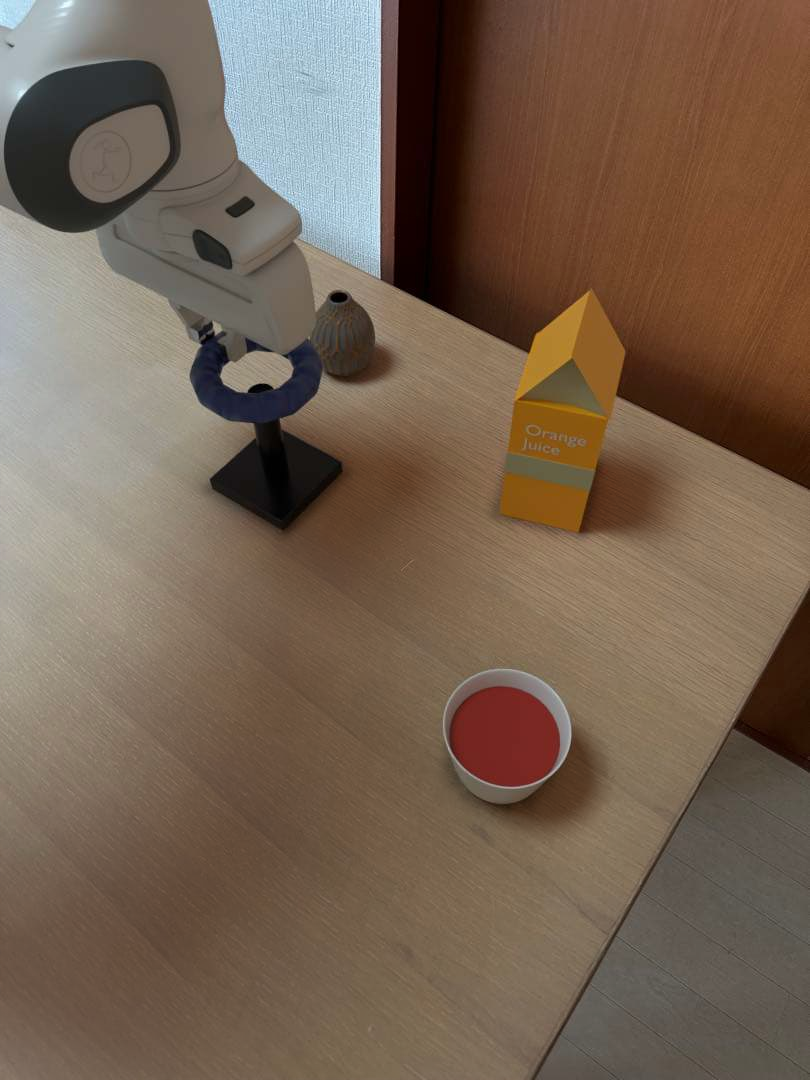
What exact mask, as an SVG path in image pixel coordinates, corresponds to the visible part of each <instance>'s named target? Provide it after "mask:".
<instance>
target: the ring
mask: <svg viewBox="0 0 810 1080" xmlns="http://www.w3.org/2000/svg"><path fill="white" fill-rule="evenodd" d="M227 333H228V332H227ZM227 333H226V332H224V331H223V330H222V329H221V331H219V332H218V333H216V334H215V336H214V337H213V338H211V339H210V340H209V341H207V342H206V343H205V344H204V345H200V347H199V348H198V349H197V351H196V354H195V356H194V359H193V362H192V365H191V368H190V370H189V375H188V376H189V377H188V378H189V381H190V384H191V387H192V388H193V391H194V393H195V396H196V398H197V400H198V402H199V403H200V404H201V406H202V407H204V408H206V409H207V410H209V411H210V412H212V413H214V414H215V415H217V416H219V417H221V418H222V419H223V420H225V421H228V422H236V423H247V424H253V423H255V424H264V423H267V422H271V421H274V420H277V419H280V420H281V419H284V418H287V417H290V416H293V415H295V414H297V412H298V411H300V410H301V409H302V408H303V407H304V406H305V405H306V404H307V403H309V402H310V401H311V400H312V399H314V397H315V396H316V395H317V394H318V391H319V388H320V384H321V380H322V376H323V371H324V368H323V363H322V360H321V358H320V357H319V355H318V353H317V351H316V349H315V348H314V346H313V344H312V342H311V341H310V338H309V337H308V338H307V339H306V340H305V341H304V342H303V343H301V344H300V345H299V346H298V347H296V348H295V349H294V350H292V351H291V352H289V353H288V354H286V355H280V354H278V355H279V356H281V357H282V358H285V359H286V360H288V361H289V363H290V364H291V366H292V372H291V376H290V377H289V378H288V379H287V380H286V381H285V382H284V383H283V384H281V385H280V386H279V387H276V388H274V389H273V390H269V391H266V392H262V393H259V394H256V393H247V392H243V391H236V390H235V389H233V388H231V387H229V386H228V385H226V384H224V382H223V380H222V379H223V378H222V377H221V375H222V372H223V368H224V367H225V366H226V365H227V364H229V363H230V362H232V361H231V360H229V359H227V358H225V357H223V356H221V355H220V349H219V347H218V343H217V341H218V340H219V339H221V338H222V337H224V336H226V334H227ZM245 341H246V346H247V352H246V354H245V355H248V354H250V353H254V352H261V353H272V354H275V352H274V351H272V350H270V349H268V348H266V347H264V346H262V345H260V344H258V343H256V342H254V341H252V340H250V339H248V338H246V337H245Z"/></svg>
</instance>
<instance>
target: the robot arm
mask: <svg viewBox="0 0 810 1080" xmlns="http://www.w3.org/2000/svg"><path fill="white" fill-rule="evenodd" d="M215 25H216V24H215V21H214V18H213V13H212V9H211V6H210V3H209V0H35V1H34V3H33V4H32V6H31V8H30V9H29V10H28V12H27V13H26V15H25V16H24V17H23V19H22V20H20V22H18V24H17V25H16V26H15V27H14V28H9V27H8V26H5V25H3V24H0V206H2V207H3V208H6V209H7V210H9V211H11V212H13V213H15V214H17V215H20V216H21V217H24V218H26V219H28V220H30V221H32V222H34V223H37V224H39V225H41V226H44V227H45V228H48V229H50V230H54V231H57V232H61V233H68V234H81V233H86V232H90V231H94V230H95V235H96V239H97V242H98V246H99V251H100V253H101V255H102V258H103V260H104V261H105V262H106V264H107V265H108V266H109V268H110V269H111V270H112V272H114V273H115V274H117V275H119V276H121V277H123V278H126V279H127V280H129V281H132V282H133V283H135V284H137V285H139V286H141V287H144V288H145V289H148V290H149V291H152V293H153V292H154V293H155V294H157V295H159V296H162V297H164V298H166V299H167V301H168V304H169V306H170V308H171V309H172V310H173V312H174V313H175V314H176V317H178V318H179V320H180V321H181V322H182V324H183V325H184V327H185V331H186V334H187V338H188V339H189V340H190V341H192V342H194V343H196V344H198V345H200V346H202V345H204V344H205V343H206V342H207V341H209V340H210V339H211V338H213V337H214V336H215V335H216V330H215V329H214V323H216V324H217V325H219V326H220V327H221V331H222V330H223V331H224V332H226V333H227V332H228V333H227V334H226V336H224V337H222V338H221V339H219V340H218V341H217V343H218V347H219V349H220V355H221V356H223V357H225V358H227V359H229V360H231V361H230V362H233V363H238V362H239V361H240V360H241V359H243V358H244V357H245V356H246V355H247V354H246V352H247V346H246V341H245V337H246V338H248V339H250V340H252V341H254V342H256V343H258V344H260V345H262V346H264V347H266V348H268V349H270V350H272V351H274V352H275V353H276V354H277V355H279V354H280V355H279V356H281V355H286V354H288V353H289V352H291V351H292V350H294V349H295V348H296V347H298V346H299V345H300V344H301V343H303V342H304V341H305V340H306V339H307V338H308V339H309V338H310V335H311V334H312V332H313V331H314V329H315V326H316V312H317V311H316V303H315V296H314V290H313V284H312V283H313V282H312V278H311V273H310V267H309V265H308V261H307V259H306V257H305V255H304V253H303V251H302V250H301V248H300V247H299V245H298V244H297V243H296V242H295V240H296V239H297V238H298V237H299V236H300V235H301V234H302V231H303V221H302V217H301V213H300V212H299V210H298V209H297V208H296V207H295V206H294V205H293V204H291V203H290V202H289V200H286V198H284V197H282V195H280V194H279V193H277V191H275V190H274V189H273V188H271V187H270V186H269V185H268V184H266V183H265V182H264V181H263V180H262V178H260V177H259V176H258V175H257V174H256V173H255V172H254V171H253V170H252V168H251V167H250V166H249V165H248V164H247V163H246V162H244V161H243V160H241V159H240V158H239V152H238V146H237V142H236V138H235V136H234V133H233V132H232V130H231V128H230V126H229V124H228V121H227V118H226V113H225V110H226V109H225V101H226V91H227V89H226V88H227V87H226V86H227V85H226V77H225V72H224V66H223V59H222V54H221V49H220V45H219V44H220V43H219V40H218V35H217V30H216V26H215ZM275 353H274V354H275Z"/></svg>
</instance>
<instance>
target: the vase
mask: <svg viewBox="0 0 810 1080" xmlns="http://www.w3.org/2000/svg"><path fill="white" fill-rule="evenodd" d="M352 296H353V295H352V294H350V292H349V291H347V290H344V289H334V290H332V291H331V292H329V293H328V294H327V296H326V298H325V300H324V302H323V303H322V304H321V305H320V307H319V308H318V309H317V310H316V311H315V312H316V326H315V329H314V331H313V332H312V334H311V335H310V336H309V340H310V341H311V342H312V344H313V346H314V348H315V349H316V351H317V353H318V355H319V357H320V358H321V360H322V363H323V370H325V371H326V372H328V373H330V374H333V375H336V376H340V377H346V376H352V375H355V374H357V373H359V372H360V371H362V370H363V369H365V367H366V366H368V364H369V363H370V361H371V360H372V358H373V355H374V352H375V346H376V331H375V325H374V323H373V320H372V318H371V316H370V314H369V313H368V311H367V310H366V309H365V308H364V306H362V305H361V304H359V303H358V302H357V301H356V300H355V299H354V298H353V297H352Z"/></svg>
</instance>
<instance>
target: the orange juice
mask: <svg viewBox="0 0 810 1080" xmlns="http://www.w3.org/2000/svg"><path fill="white" fill-rule="evenodd" d="M625 357H626V349H625V347H624V346H623V344H622V342H621V339H620V338H619V336H618V335H617V333H616V330H615V329H614V327H613V325H612V324H611V321H610V320H609V318H608V316H607V314H606V313H605V310H604V309H603V307H602V304H601V303H600V301H599V299H598V297H597V296H596V294H595V292H594V290H593V287H590V289H589V290H588V291H587V292H586V293H585V294H583V295H582V296H581V297H580V298H579V299H578V300H576V301H575V302H573V304H572V305H570V306H569V307H568V308H567V309H565V310H564V311H563V312H562V313H561V314H559V315H558V316H557V317H556V318H555V319H554V320H552V321H551V322H550V323H548V324H547V325H546V326H545V327H544V328H543V329H541V330H540V331H539V332H536V334H535V335H534V338H533V342H532V345H531V348H530V350H529V354H528V357H527V360H526V363H525V366H524V369H523V371H522V375H521V378H520V381H519V384H518V387H517V390H516V393H515V396H514V400H513V409H512V417H511V423H510V431H509V439H508V445H507V446H508V447H507V451H506V457H505V466H504V475H503V483H502V484H503V485H502V492H501V499H500V505H499V506H500V507H499V515H501V516H505V517H509V518H513V519H514V518H515V519H519V520H522V521H523V520H524V521H526V522H531V523H535V524H540V525H544V526H549V527H553V528H557V529H561V530H565V531H570V532H575V533H579V532H580V528H581V525H582V521H583V518H584V514H585V510H586V506H587V502H588V498H589V494H590V491H591V488H592V486H593V482H594V481H593V480H594V477H595V473H596V469H597V465H598V462H599V457H600V452H601V448H602V446H603V443H604V439H606V438H607V437H606V436H605V435H606V431H607V430H608V424H610V422H611V418H612V414H613V410H614V405H615V400H616V397H617V391H618V388H619V383H620V378H621V374H622V370H623V366H624V362H625ZM606 429H607V430H606Z"/></svg>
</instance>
